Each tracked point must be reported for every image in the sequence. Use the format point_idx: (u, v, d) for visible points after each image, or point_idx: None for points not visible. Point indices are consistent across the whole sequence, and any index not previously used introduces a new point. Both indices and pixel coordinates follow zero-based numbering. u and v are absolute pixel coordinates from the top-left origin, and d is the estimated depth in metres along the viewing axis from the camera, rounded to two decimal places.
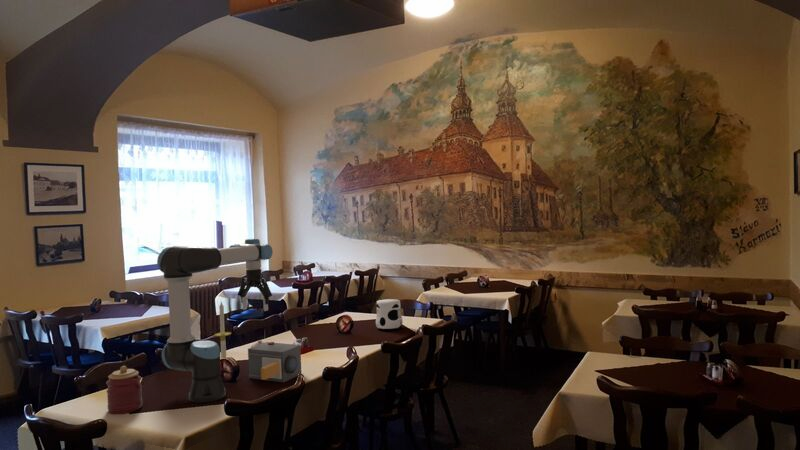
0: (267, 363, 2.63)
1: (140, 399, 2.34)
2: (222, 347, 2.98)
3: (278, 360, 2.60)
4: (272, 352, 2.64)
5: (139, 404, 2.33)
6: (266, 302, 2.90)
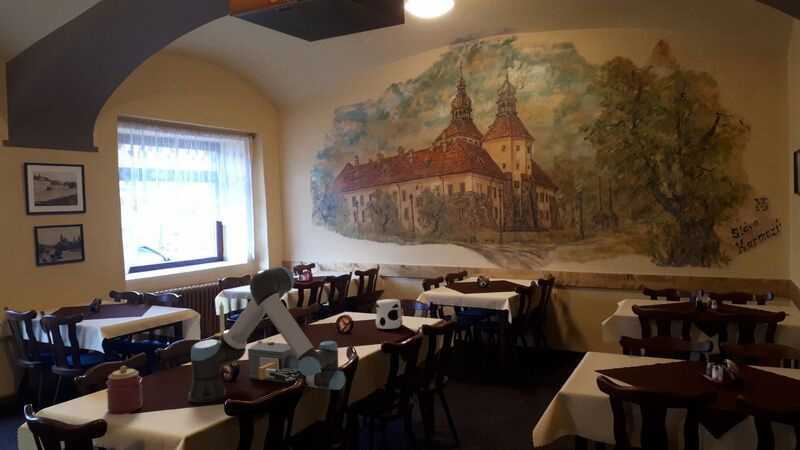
0: (265, 363, 2.63)
1: (140, 399, 2.34)
2: None
3: (276, 360, 2.61)
4: (272, 352, 2.64)
5: (139, 404, 2.33)
6: (271, 372, 2.50)
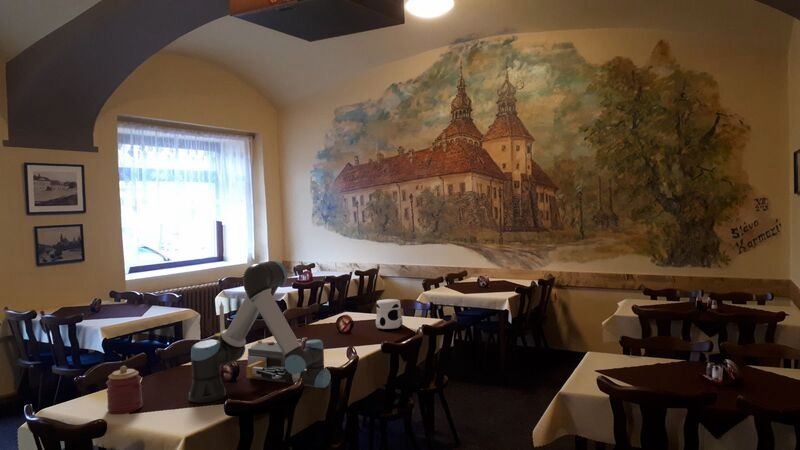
0: (253, 361, 2.67)
1: (140, 399, 2.34)
2: None
3: (263, 358, 2.64)
4: (272, 352, 2.64)
5: (139, 404, 2.33)
6: (258, 370, 2.53)
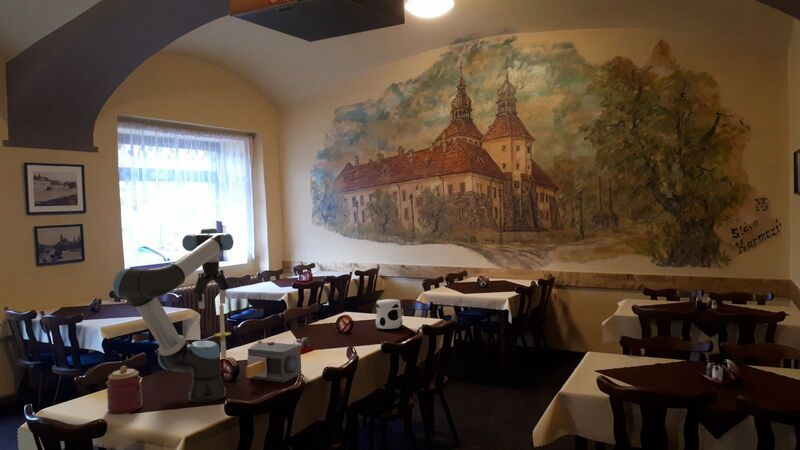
0: (253, 361, 2.67)
1: (140, 399, 2.34)
2: (222, 347, 2.98)
3: (263, 358, 2.64)
4: (272, 352, 2.64)
5: (139, 404, 2.33)
6: None
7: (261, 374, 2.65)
